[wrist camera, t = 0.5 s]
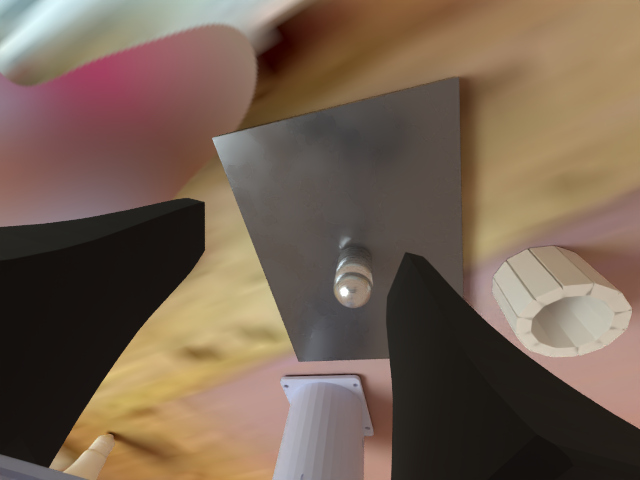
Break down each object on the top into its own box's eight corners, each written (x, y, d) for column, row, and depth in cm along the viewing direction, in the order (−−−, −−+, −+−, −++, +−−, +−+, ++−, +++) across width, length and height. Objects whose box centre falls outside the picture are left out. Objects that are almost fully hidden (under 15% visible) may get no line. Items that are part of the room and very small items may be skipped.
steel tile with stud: (461, 345, 24) (481, 406, 20) (300, 352, 28) (287, 406, 23) (454, 76, 15) (488, 77, 11) (219, 135, 19) (172, 154, 14)
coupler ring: (577, 309, 21) (618, 355, 18) (491, 314, 22) (513, 358, 19) (591, 241, 19) (642, 279, 15) (493, 252, 20) (519, 289, 16)
